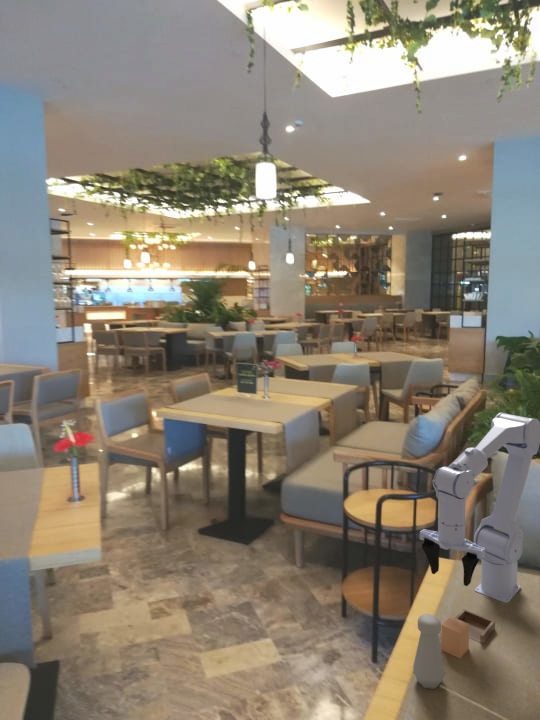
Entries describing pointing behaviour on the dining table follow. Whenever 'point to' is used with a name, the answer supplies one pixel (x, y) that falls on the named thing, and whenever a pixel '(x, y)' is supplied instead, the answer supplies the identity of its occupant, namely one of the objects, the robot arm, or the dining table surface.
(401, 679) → the dining table surface
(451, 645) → the block
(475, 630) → the box
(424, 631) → the salt shaker
